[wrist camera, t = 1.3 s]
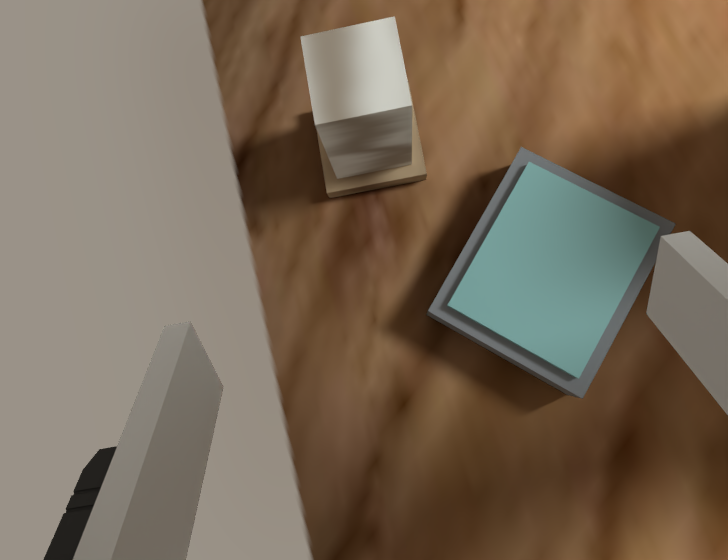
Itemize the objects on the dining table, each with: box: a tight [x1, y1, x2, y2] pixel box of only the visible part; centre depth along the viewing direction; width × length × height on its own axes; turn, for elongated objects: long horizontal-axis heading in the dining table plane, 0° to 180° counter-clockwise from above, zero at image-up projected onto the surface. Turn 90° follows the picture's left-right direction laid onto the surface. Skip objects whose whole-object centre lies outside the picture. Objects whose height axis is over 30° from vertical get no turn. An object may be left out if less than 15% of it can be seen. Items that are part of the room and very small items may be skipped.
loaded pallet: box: [301, 17, 427, 198], centre depth 37 cm, size 8×8×11 cm
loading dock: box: [426, 147, 675, 399], centre depth 38 cm, size 14×12×4 cm
